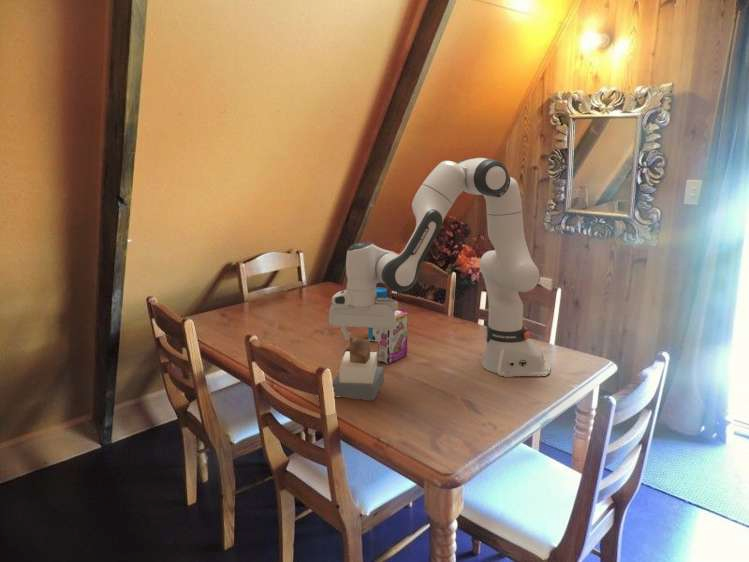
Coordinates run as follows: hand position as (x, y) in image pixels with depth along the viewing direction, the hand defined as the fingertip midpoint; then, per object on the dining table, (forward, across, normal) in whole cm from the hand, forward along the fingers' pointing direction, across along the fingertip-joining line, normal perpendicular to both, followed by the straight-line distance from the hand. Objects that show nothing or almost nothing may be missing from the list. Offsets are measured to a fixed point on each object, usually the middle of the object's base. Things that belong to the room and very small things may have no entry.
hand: (362, 340), depth 170 cm
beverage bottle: (+16, +4, -45) cm, 48 cm away
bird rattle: (+16, +7, -16) cm, 24 cm away
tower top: (+12, +2, 0) cm, 12 cm away
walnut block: (+6, +1, 0) cm, 7 cm away
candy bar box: (+16, -5, -26) cm, 31 cm away
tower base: (+16, +2, 0) cm, 17 cm away
